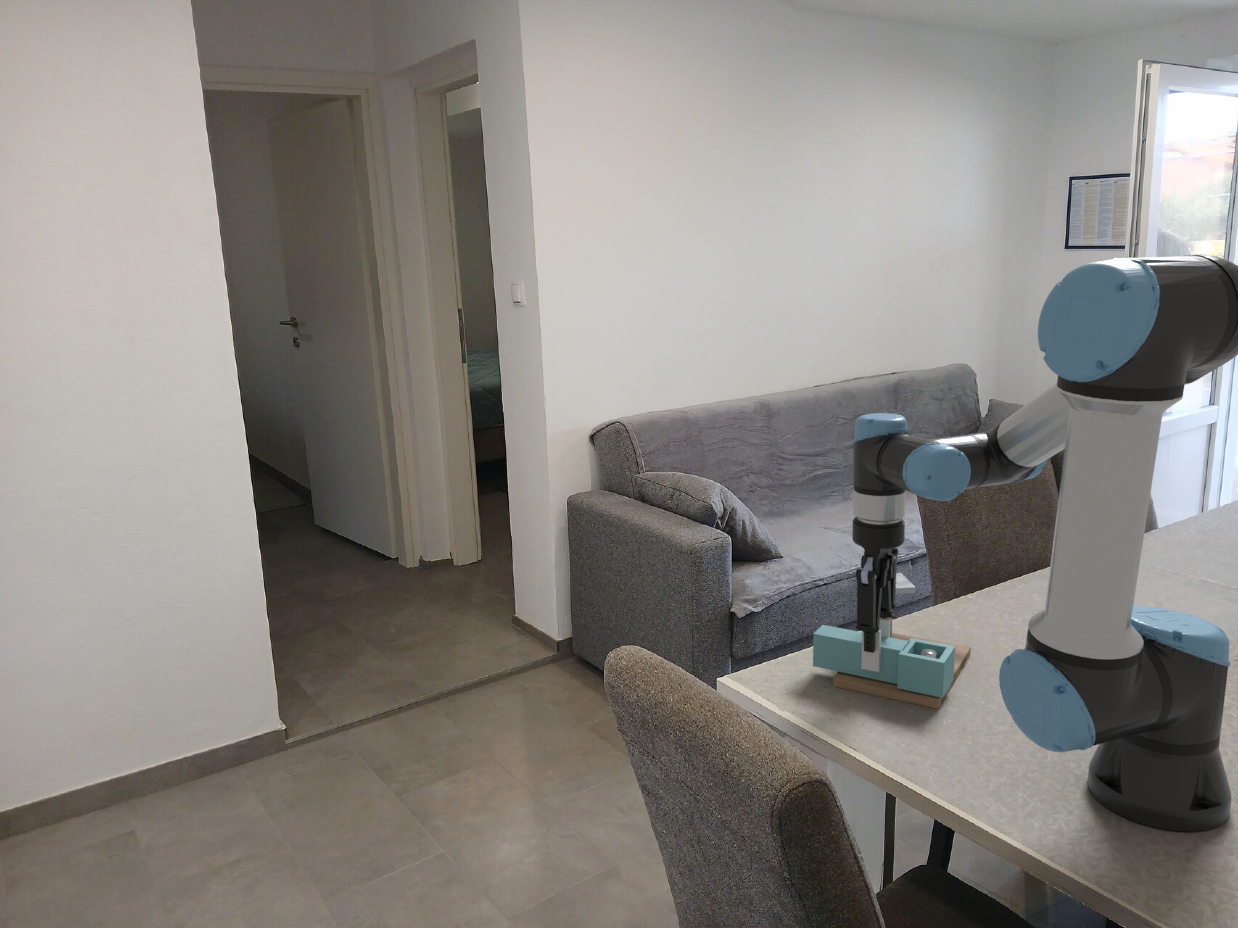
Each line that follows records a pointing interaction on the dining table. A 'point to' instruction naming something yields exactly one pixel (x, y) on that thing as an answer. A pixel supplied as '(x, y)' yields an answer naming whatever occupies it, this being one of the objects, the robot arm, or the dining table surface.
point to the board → (891, 689)
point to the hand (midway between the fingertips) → (875, 663)
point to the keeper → (902, 589)
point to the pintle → (929, 653)
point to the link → (887, 660)
